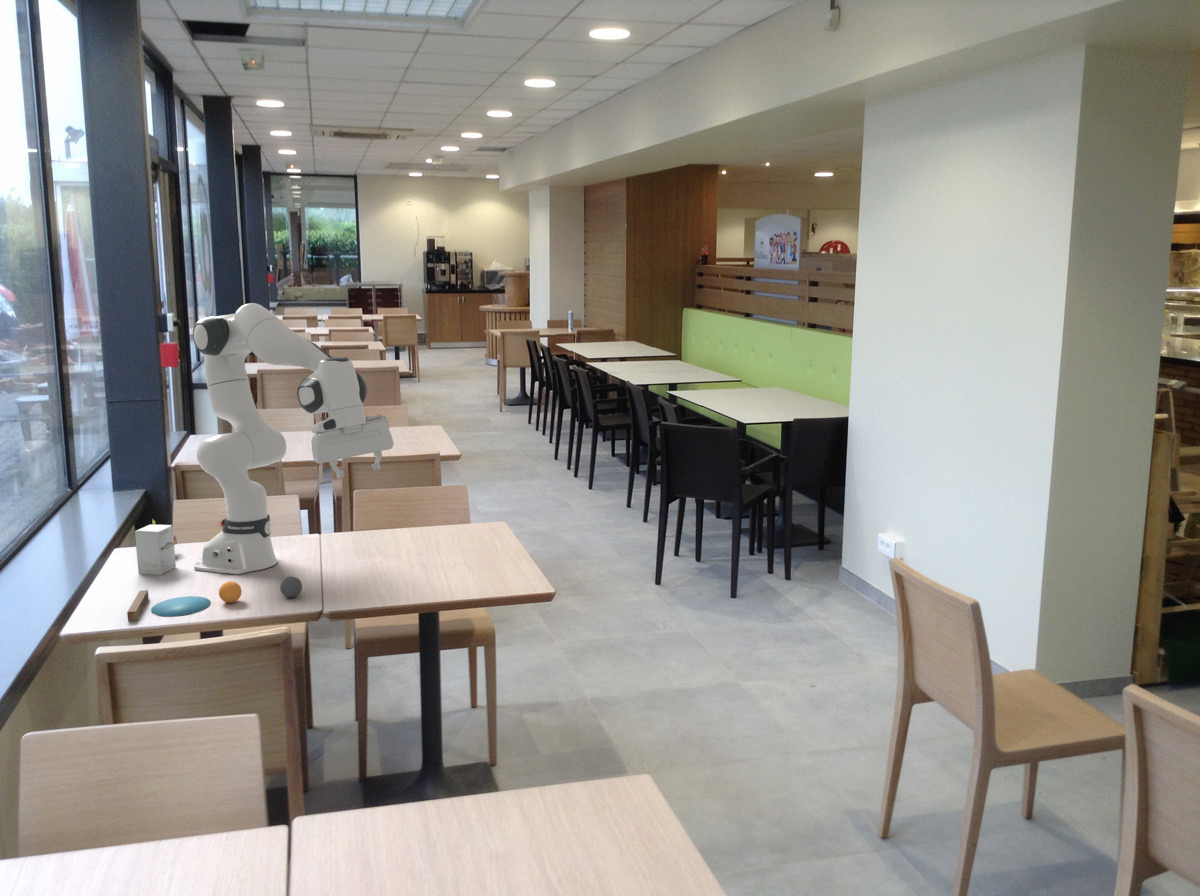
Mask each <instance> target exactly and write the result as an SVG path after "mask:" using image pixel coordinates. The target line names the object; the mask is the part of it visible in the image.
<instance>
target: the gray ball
mask: <svg viewBox="0 0 1200 896" xmlns="http://www.w3.org/2000/svg"><path fill="white" fill-rule="evenodd" d="M279 590H280V592H281V594H282V595H283V596H284V597H286V598H288V599H289V598H292V599H293V598H296V597H297V596H299V595H300V594H301V592H302V590H303V584H302V581H301V579H299V578H298V577H296V576H288V577H287V576H286V577H285V578H283V580H282V581H281V582H280V585H279Z"/></svg>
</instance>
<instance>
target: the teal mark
mask: <svg viewBox="0 0 1200 896" xmlns="http://www.w3.org/2000/svg"><path fill="white" fill-rule="evenodd" d="M210 603H211V600H210V599H209V598H207V597H204V596H196V595H195V596H193V595H191V596H188V595H186V596H177V597H173V598H169V599H165V600H162V601H160V602H157V603H156V604H154V605H153V606H152V607H151V609H150V611H152V612H151V614H153V613H154V614H153V615H155V614H156V615H155V616H158V617H182V616H187V615H192V614H196V613H198V611H199V612H202V611H204V610H205V608H206V609H208V608H209V607H210V606H211V604H210ZM208 606H209V607H208ZM203 609H204V610H203ZM201 610H202V611H201Z"/></svg>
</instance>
